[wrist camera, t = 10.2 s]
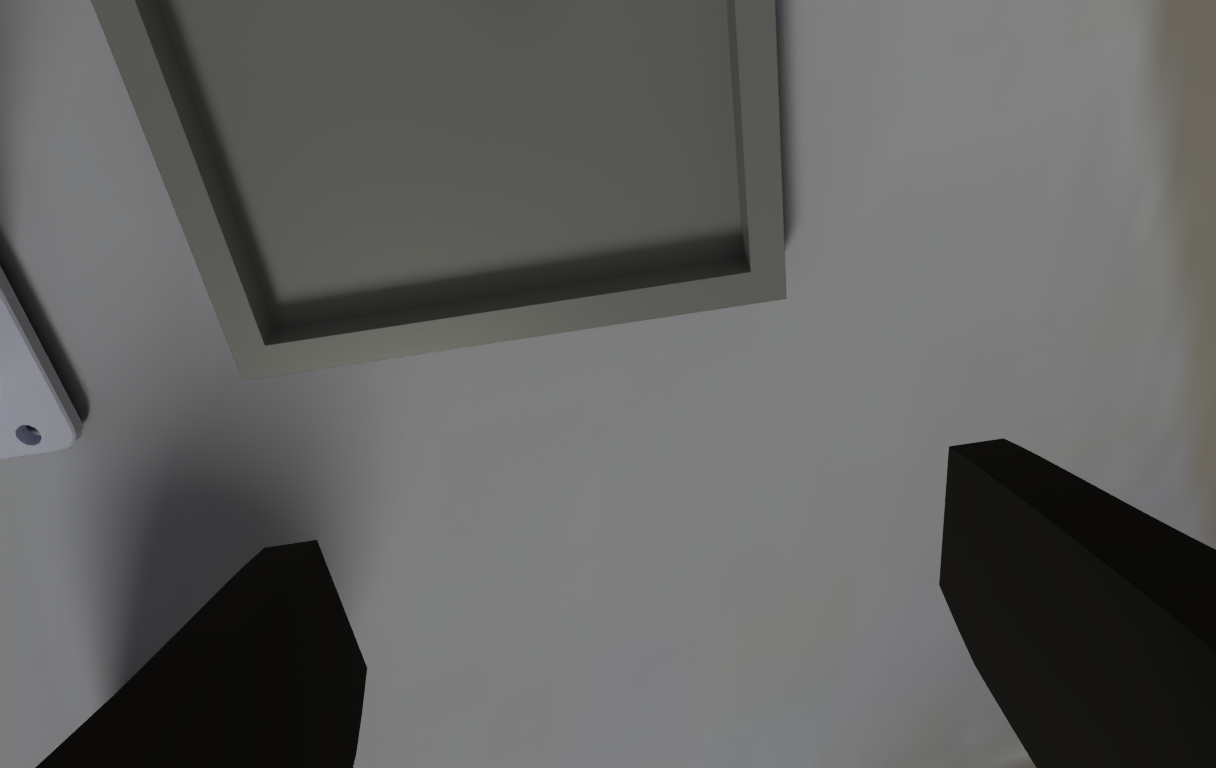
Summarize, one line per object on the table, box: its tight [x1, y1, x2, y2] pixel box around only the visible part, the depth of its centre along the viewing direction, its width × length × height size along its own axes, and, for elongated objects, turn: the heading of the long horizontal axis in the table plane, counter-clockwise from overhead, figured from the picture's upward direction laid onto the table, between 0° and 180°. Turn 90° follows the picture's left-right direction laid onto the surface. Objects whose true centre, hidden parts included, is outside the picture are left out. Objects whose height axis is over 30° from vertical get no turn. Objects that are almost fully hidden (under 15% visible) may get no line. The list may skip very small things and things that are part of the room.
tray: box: [91, 0, 786, 381], centre depth 15 cm, size 11×11×1 cm
